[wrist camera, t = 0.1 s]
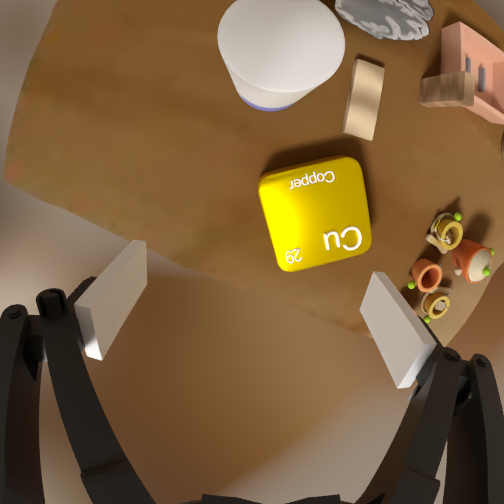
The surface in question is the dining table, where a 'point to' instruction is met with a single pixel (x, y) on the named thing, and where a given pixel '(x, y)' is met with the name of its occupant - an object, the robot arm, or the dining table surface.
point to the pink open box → (476, 68)
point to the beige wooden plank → (363, 100)
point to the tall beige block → (448, 90)
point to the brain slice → (388, 17)
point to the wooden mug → (503, 146)
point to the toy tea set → (464, 257)
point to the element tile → (316, 212)
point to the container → (279, 49)
